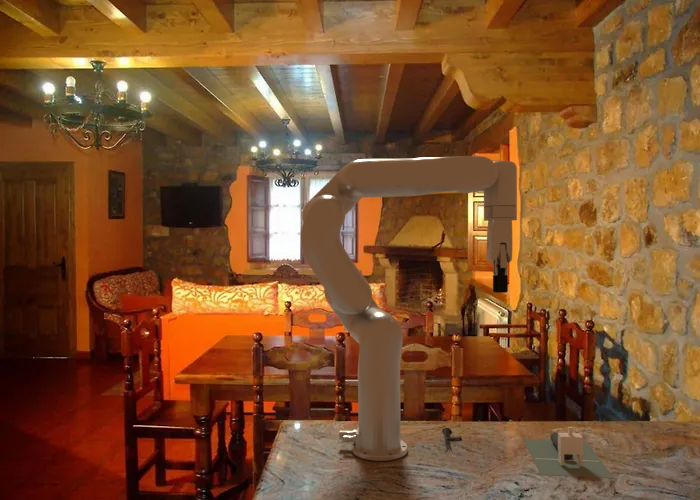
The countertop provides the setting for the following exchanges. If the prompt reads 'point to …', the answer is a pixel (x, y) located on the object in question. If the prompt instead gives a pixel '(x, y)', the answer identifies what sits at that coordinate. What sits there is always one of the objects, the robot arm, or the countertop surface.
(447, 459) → the countertop surface
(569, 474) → the cutting mat
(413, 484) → the countertop surface
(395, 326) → the robot arm
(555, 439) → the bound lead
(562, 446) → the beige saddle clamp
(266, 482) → the countertop surface
